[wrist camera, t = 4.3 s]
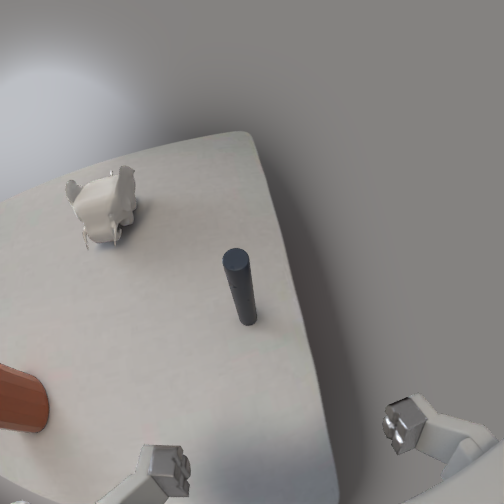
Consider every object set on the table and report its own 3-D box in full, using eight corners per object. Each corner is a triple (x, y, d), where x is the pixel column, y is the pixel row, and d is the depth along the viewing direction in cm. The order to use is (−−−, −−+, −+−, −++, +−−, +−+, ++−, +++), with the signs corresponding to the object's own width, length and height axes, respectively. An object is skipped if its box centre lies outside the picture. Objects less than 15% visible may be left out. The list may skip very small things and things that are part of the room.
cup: (58, 415, 23) (5, 405, 15) (27, 442, 20) (-22, 436, 12) (33, 363, 26) (-15, 341, 19) (6, 392, 23) (-40, 376, 16)
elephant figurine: (82, 263, 34) (47, 224, 26) (99, 199, 40) (75, 159, 33) (141, 255, 34) (111, 210, 26) (151, 188, 40) (132, 142, 33)
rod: (260, 317, 29) (254, 258, 19) (248, 329, 28) (234, 276, 18) (248, 306, 30) (236, 242, 20) (235, 317, 29) (216, 259, 19)
